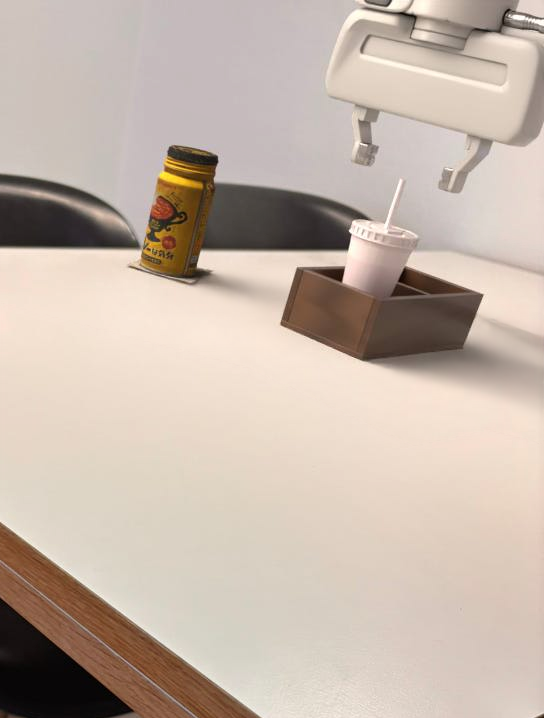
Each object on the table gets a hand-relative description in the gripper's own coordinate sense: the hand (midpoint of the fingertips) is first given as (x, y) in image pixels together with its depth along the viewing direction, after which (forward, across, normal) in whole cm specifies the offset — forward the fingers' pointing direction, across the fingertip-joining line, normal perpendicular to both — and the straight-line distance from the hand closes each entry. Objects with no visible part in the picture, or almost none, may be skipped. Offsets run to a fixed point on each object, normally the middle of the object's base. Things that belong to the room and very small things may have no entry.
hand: (403, 177), depth 96 cm
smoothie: (+14, 0, 0) cm, 14 cm away
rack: (+15, 0, -4) cm, 15 cm away
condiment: (+15, +22, +3) cm, 27 cm away
